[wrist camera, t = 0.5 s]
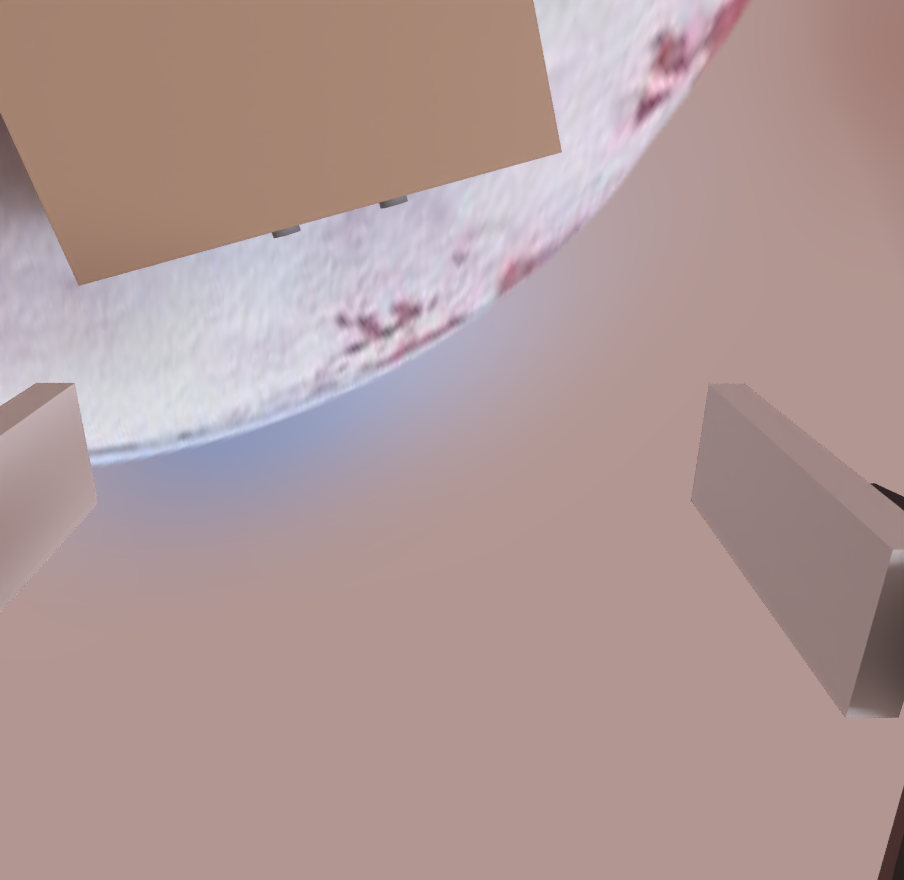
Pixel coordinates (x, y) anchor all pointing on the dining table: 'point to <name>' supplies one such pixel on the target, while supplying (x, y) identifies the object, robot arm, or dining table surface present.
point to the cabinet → (258, 113)
